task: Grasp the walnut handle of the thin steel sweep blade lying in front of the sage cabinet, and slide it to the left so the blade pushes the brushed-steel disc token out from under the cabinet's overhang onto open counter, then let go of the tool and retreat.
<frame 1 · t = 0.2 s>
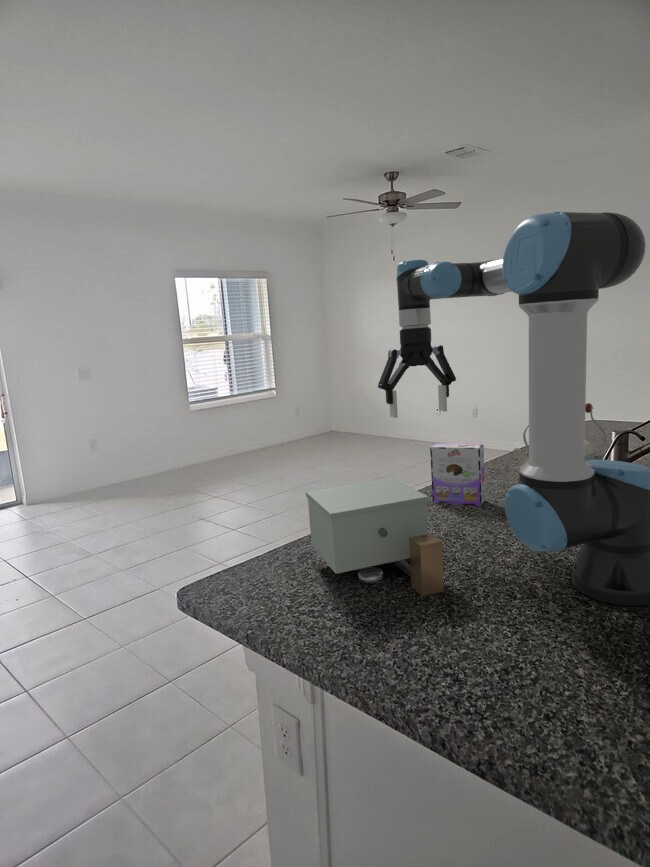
hand: (418, 414, 138), 28 cm above the countertop, fingers open, 13 cm apart
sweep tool: (427, 588, 106), on the countertop
kettle: (557, 488, 162), on the countertop
cabinet: (368, 566, 117), on the countertop
token: (370, 577, 113), on the countertop
candy box: (458, 502, 155), on the countertop
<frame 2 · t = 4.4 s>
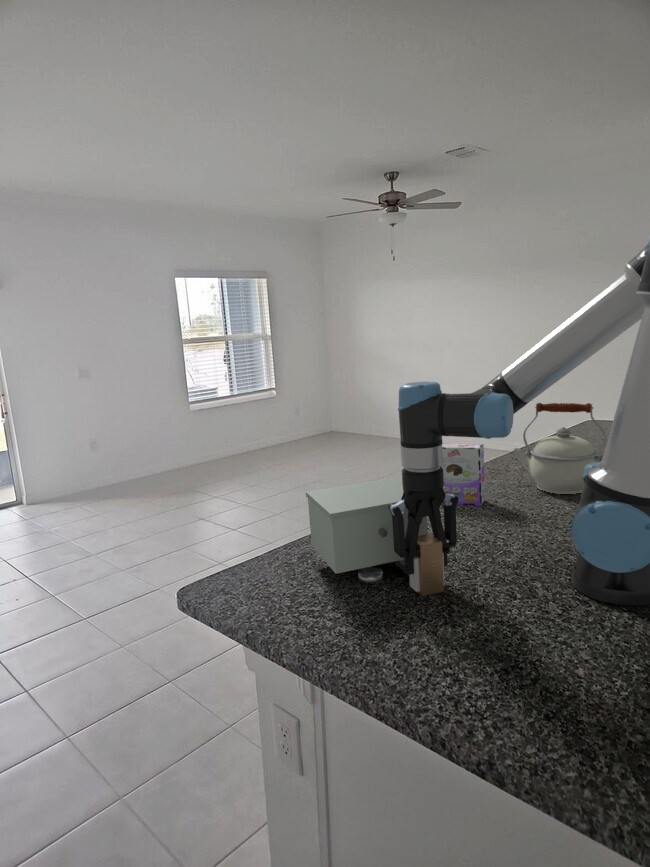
hand: (427, 585, 105), 1 cm above the countertop, fingers closed on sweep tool, 4 cm apart
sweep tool: (427, 588, 106), on the countertop, touching gripper
everything else where it was.
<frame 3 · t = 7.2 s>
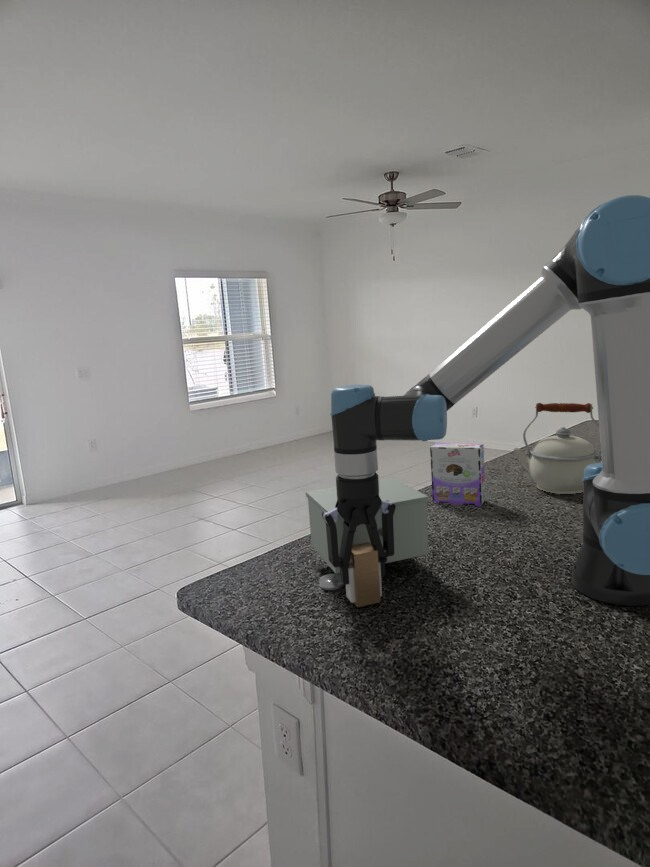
hand: (364, 595, 102), 1 cm above the countertop, fingers closed on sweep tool, 4 cm apart
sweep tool: (364, 599, 102), point 1 cm above the countertop, touching gripper
token: (332, 584, 110), on the countertop
everything else where it was.
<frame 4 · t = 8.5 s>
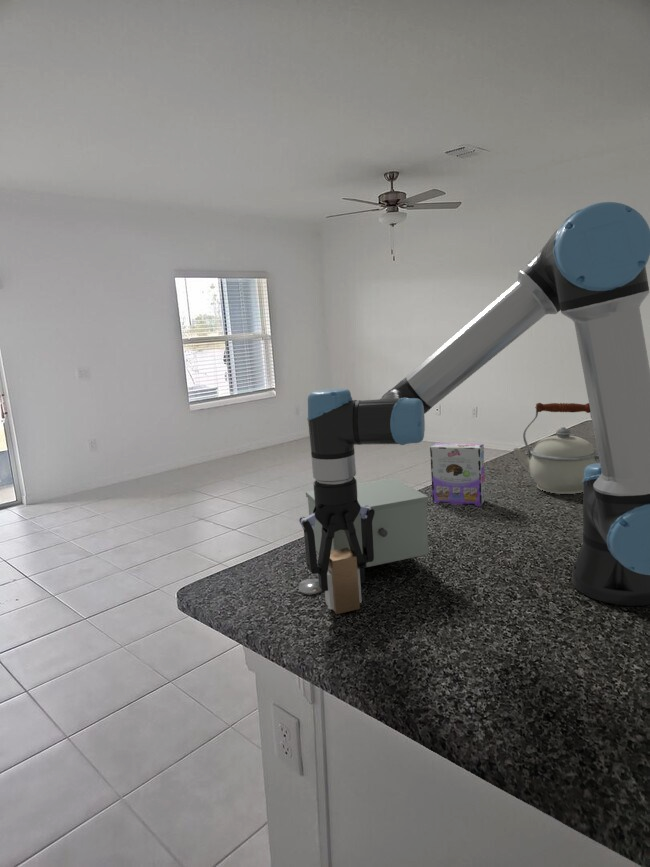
hand: (343, 602, 100), 1 cm above the countertop, fingers closed on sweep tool, 4 cm apart
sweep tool: (343, 605, 100), on the countertop, touching gripper
token: (311, 589, 109), on the countertop
everything else where it was.
when the fingers open (1 cm above the countertop, at t = 9.3 s): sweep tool stays where it is, on the countertop.
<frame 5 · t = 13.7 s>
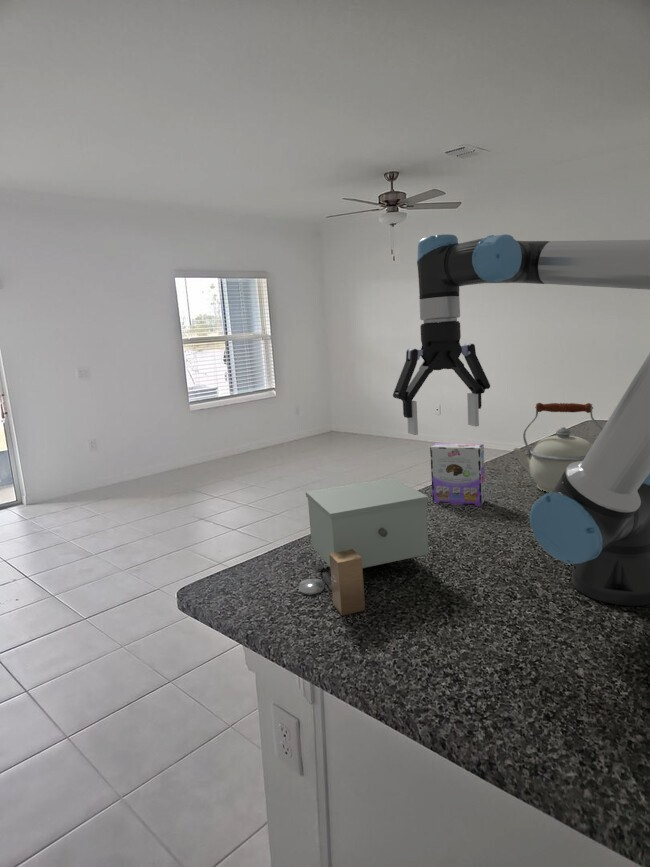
hand: (443, 429, 110), 29 cm above the countertop, fingers open, 13 cm apart
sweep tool: (348, 607, 101), on the countertop
everything else where it was.
at the end: token inside the target area (4.3 cm from its centre), on the countertop; token touching countertop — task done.
